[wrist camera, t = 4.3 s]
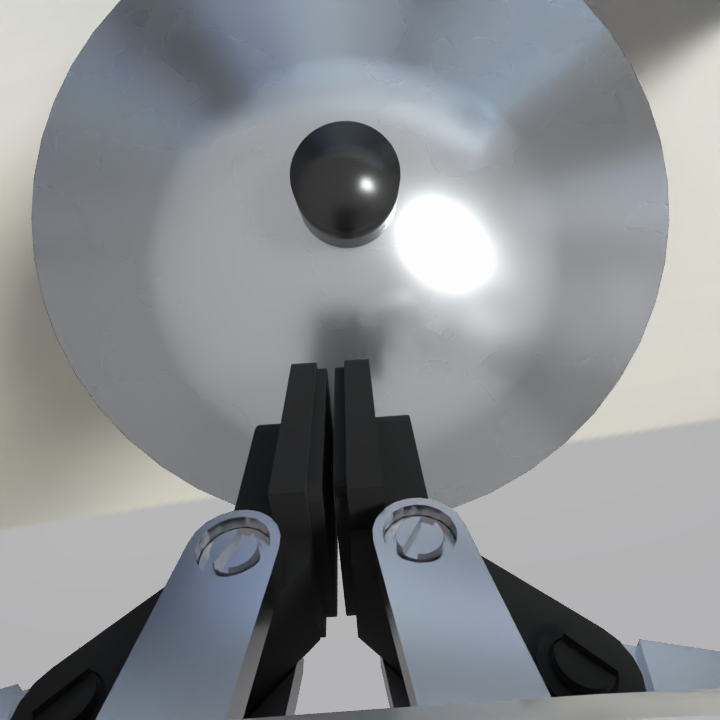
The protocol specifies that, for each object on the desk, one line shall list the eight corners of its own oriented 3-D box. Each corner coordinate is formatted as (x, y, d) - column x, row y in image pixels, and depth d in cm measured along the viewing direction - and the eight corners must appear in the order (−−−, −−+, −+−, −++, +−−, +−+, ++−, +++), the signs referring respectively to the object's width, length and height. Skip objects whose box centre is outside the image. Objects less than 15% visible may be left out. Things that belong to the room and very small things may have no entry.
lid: (611, -78, 14) (669, -189, 11) (669, 496, 13) (749, 522, 10) (58, -42, 14) (-14, -143, 11) (65, 529, 13) (-13, 563, 10)
